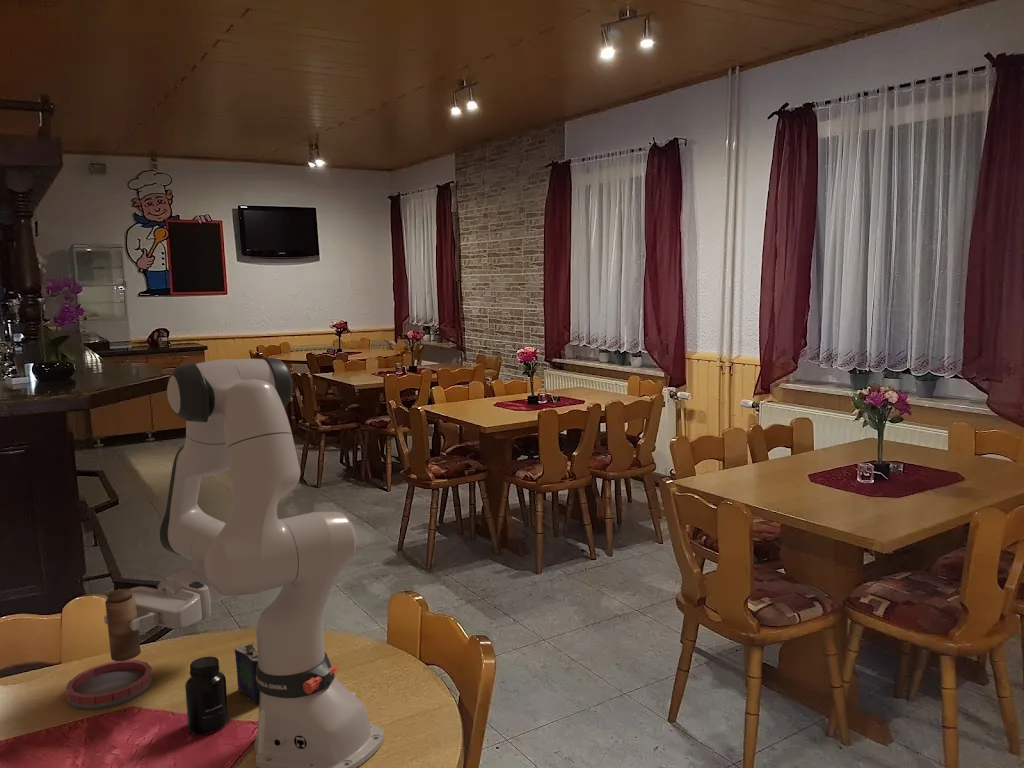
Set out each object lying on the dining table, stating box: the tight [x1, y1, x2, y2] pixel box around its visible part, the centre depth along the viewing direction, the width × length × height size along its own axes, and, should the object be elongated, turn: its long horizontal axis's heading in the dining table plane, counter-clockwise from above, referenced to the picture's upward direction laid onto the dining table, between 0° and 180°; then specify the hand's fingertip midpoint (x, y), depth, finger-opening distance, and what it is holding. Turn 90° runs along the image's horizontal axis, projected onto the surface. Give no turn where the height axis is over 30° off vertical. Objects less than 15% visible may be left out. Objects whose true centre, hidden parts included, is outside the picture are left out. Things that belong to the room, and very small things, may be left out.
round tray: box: [65, 659, 153, 711], centre depth 155 cm, size 15×15×2 cm
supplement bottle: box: [184, 656, 229, 735], centre depth 140 cm, size 7×7×12 cm
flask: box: [234, 641, 260, 707], centre depth 150 cm, size 9×3×11 cm, turn 45°
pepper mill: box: [105, 588, 142, 662], centre depth 146 cm, size 5×5×12 cm
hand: (118, 623), depth 145 cm, fingers closed on pepper mill, 5 cm apart
